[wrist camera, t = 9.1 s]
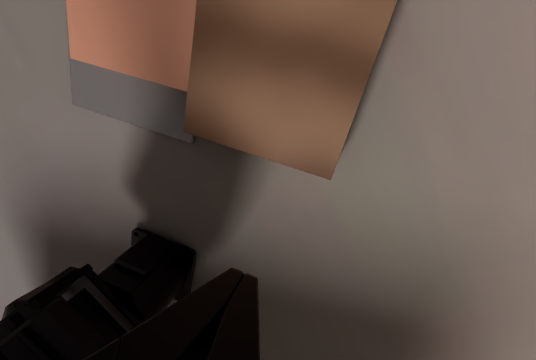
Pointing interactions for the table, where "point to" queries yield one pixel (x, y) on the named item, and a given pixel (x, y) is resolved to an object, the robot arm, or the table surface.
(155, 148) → the table surface
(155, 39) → the block
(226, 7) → the plate
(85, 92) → the mat
